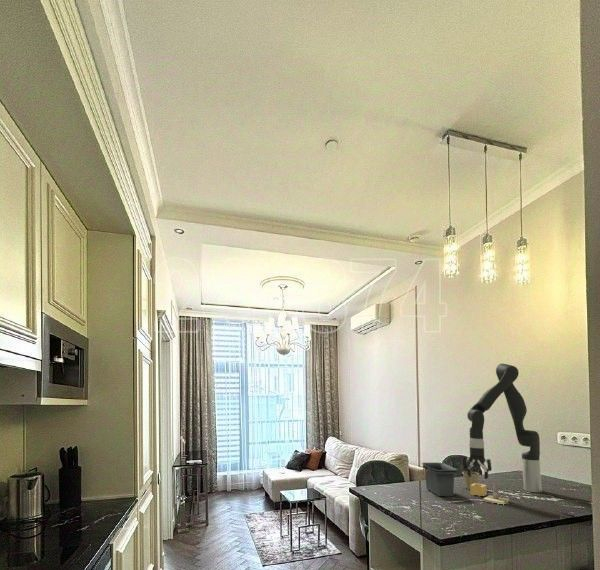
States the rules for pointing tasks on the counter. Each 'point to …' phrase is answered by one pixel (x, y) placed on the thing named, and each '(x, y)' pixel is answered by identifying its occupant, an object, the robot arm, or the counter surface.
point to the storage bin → (439, 478)
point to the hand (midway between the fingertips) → (477, 477)
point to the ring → (478, 489)
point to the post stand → (496, 497)
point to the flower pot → (470, 478)
